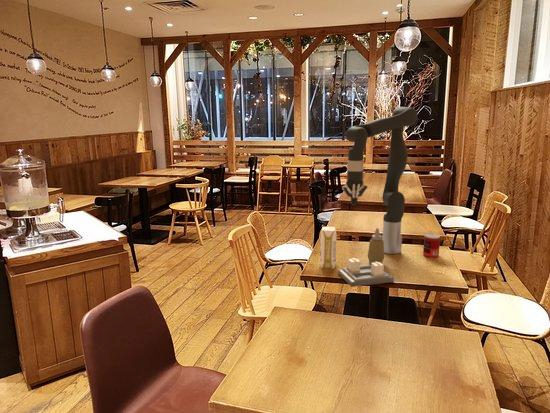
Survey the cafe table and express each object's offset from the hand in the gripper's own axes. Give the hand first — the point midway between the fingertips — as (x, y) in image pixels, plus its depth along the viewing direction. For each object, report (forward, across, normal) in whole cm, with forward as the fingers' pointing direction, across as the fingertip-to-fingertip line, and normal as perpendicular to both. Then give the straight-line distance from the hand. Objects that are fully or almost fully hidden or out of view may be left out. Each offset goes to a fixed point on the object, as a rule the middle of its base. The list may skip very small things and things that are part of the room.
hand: (353, 204), depth 203 cm
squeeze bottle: (+29, -10, +6) cm, 31 cm away
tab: (+26, -1, +24) cm, 36 cm away
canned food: (+29, -43, +3) cm, 52 cm away
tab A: (+27, +7, +17) cm, 33 cm away
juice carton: (+29, +14, +3) cm, 33 cm away
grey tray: (+29, +3, +21) cm, 36 cm away
